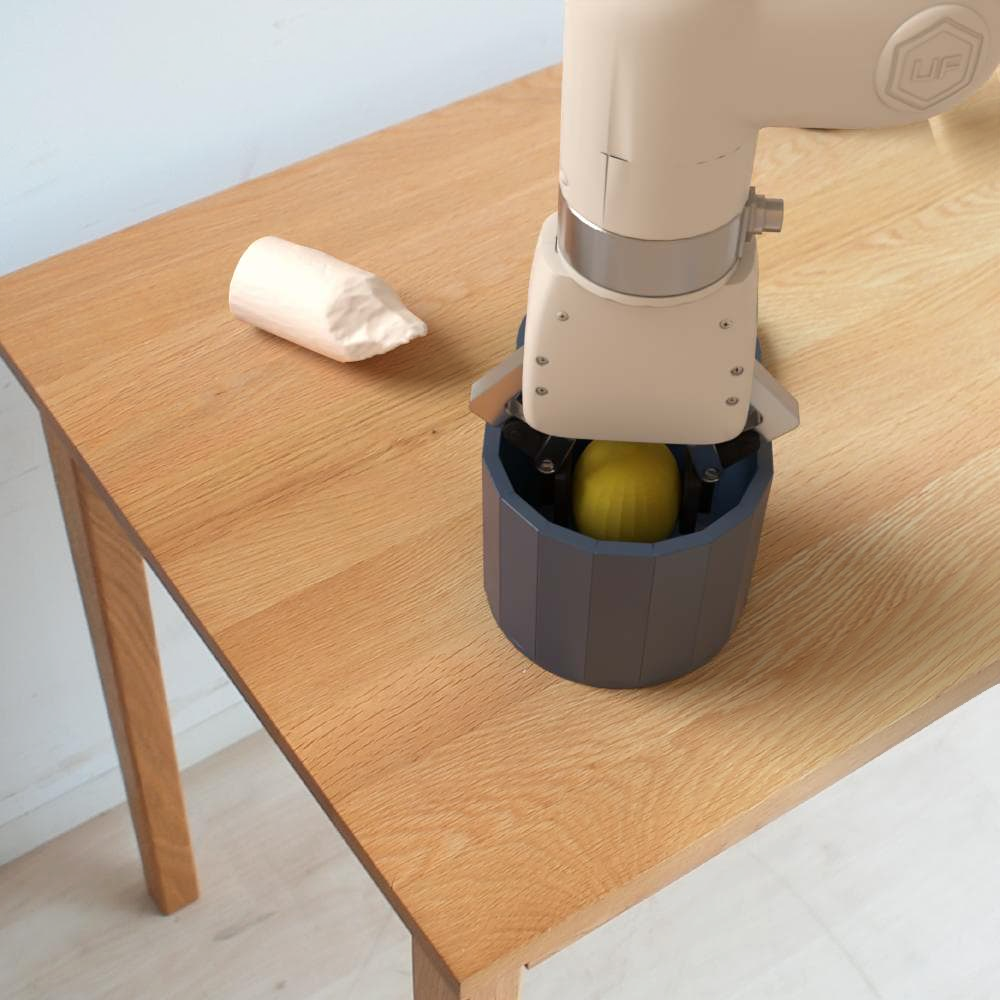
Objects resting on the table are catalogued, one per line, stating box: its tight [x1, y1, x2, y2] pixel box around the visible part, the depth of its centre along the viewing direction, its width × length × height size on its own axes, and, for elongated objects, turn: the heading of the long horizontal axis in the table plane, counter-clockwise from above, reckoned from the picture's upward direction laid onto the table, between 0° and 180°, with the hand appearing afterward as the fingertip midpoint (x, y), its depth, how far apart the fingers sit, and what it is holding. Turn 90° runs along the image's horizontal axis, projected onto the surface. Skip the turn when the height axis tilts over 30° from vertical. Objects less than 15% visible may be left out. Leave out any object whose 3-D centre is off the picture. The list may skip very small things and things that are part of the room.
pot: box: [481, 392, 775, 690], centre depth 72 cm, size 14×14×10 cm
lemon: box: [569, 440, 682, 544], centre depth 71 cm, size 6×6×8 cm
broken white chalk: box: [228, 235, 429, 363], centre depth 86 cm, size 6×12×6 cm, turn 59°
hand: (623, 509), depth 72 cm, fingers closed on lemon, 5 cm apart
